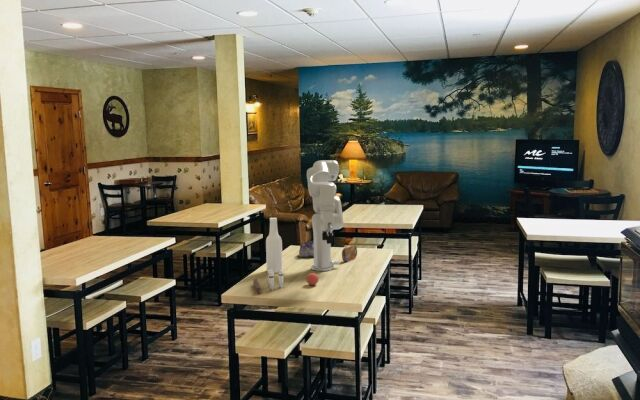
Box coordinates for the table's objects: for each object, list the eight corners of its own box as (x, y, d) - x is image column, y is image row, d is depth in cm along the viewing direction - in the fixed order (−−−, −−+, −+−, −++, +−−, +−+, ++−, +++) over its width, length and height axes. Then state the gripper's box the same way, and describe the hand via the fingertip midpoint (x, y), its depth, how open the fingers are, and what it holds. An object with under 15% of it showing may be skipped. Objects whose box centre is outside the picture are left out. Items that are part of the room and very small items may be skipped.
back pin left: (274, 288, 264) (273, 271, 263) (274, 290, 262) (274, 273, 261) (269, 288, 264) (268, 272, 263) (269, 290, 262) (269, 273, 260)
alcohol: (280, 273, 292) (278, 219, 288) (264, 273, 293) (263, 219, 289) (284, 269, 300) (283, 216, 296) (269, 269, 302) (267, 216, 298)
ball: (317, 282, 273) (316, 271, 273) (319, 286, 268) (319, 274, 267) (305, 283, 272) (305, 272, 271) (307, 286, 266) (307, 275, 266)
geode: (305, 250, 347) (307, 235, 345) (322, 254, 344) (324, 239, 342) (295, 256, 327) (297, 241, 326) (313, 260, 324) (315, 244, 323)
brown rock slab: (345, 263, 313) (345, 249, 312) (340, 262, 315) (340, 248, 314) (357, 257, 326) (357, 244, 325) (353, 257, 328) (353, 243, 326)
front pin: (283, 286, 268) (282, 269, 267) (284, 287, 266) (283, 271, 264) (278, 286, 267) (277, 270, 266) (279, 288, 265) (278, 271, 264)
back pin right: (272, 285, 269) (272, 269, 268) (273, 287, 267) (272, 270, 266) (267, 286, 269) (267, 269, 268) (268, 287, 266) (267, 270, 265)
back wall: (257, 284, 272) (257, 278, 271) (260, 293, 256) (260, 287, 256) (253, 284, 271) (253, 279, 271) (256, 294, 256) (256, 288, 256)
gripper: (316, 206, 276) (316, 239, 278) (323, 210, 259) (324, 245, 261) (330, 205, 278) (330, 238, 279) (338, 209, 261) (339, 244, 263)
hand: (327, 241), depth 270 cm, fingers open, 9 cm apart
